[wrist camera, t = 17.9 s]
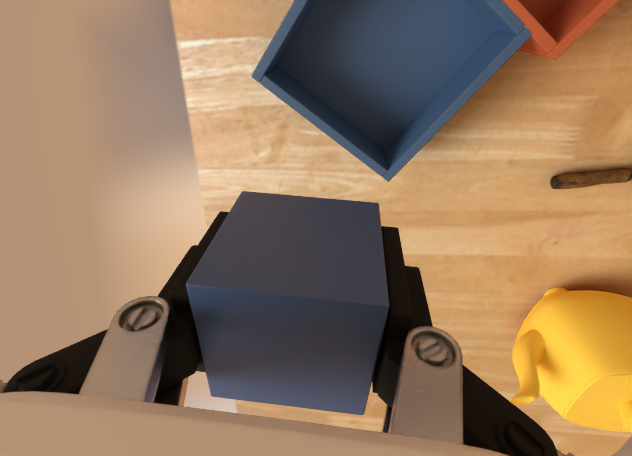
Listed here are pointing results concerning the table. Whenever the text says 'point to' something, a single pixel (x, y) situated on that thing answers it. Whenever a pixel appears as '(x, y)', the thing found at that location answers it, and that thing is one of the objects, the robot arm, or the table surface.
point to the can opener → (590, 178)
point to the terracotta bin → (556, 22)
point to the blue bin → (387, 68)
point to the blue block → (292, 302)
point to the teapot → (578, 357)
